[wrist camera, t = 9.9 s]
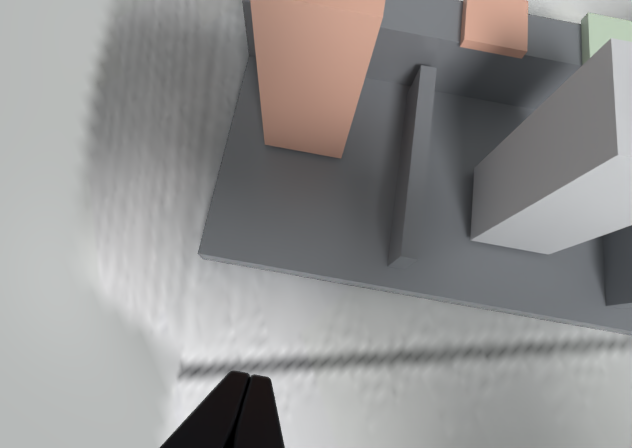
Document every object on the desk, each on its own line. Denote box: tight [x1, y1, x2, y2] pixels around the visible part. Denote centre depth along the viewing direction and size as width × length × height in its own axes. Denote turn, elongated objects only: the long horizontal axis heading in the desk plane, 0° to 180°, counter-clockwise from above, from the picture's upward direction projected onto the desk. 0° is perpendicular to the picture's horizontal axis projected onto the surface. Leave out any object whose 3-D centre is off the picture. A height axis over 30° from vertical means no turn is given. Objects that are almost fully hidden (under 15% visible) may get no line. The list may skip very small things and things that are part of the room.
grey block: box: [470, 38, 632, 255], centre depth 16 cm, size 4×4×10 cm
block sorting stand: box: [198, 0, 632, 335], centre depth 20 cm, size 14×30×6 cm, turn 81°
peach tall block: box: [250, 0, 385, 159], centre depth 17 cm, size 4×4×10 cm
